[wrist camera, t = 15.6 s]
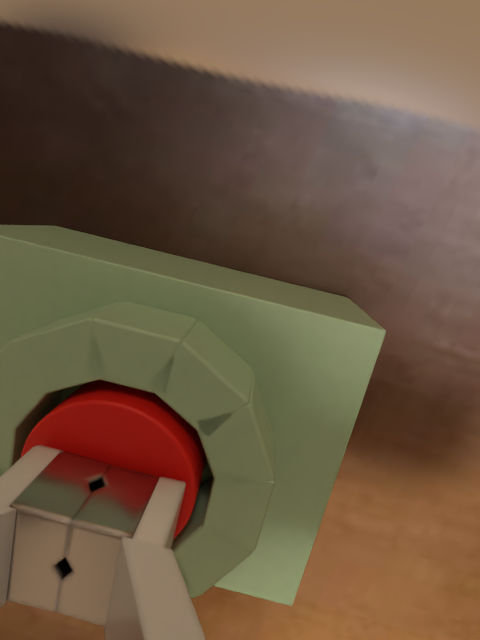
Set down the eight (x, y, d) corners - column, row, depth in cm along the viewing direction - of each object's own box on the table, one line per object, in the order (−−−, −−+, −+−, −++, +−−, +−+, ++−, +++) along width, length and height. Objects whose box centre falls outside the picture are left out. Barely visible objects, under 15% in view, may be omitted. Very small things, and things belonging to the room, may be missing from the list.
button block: (30, 435, 15) (-127, 572, 9) (54, 225, 13) (-126, 222, 7) (285, 501, 15) (297, 683, 9) (349, 297, 13) (418, 357, 7)
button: (54, 483, 10) (9, 536, 8) (72, 352, 9) (26, 380, 7) (192, 518, 10) (176, 579, 8) (223, 389, 9) (213, 428, 7)
